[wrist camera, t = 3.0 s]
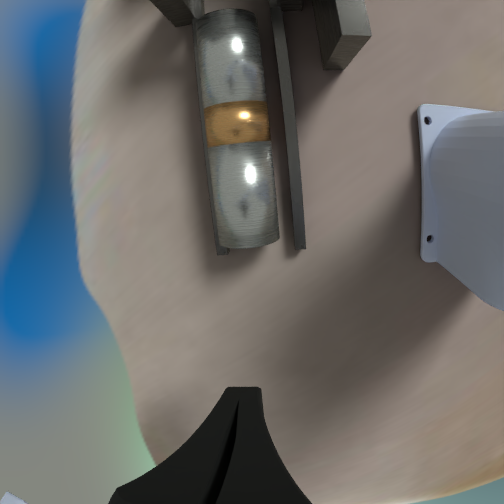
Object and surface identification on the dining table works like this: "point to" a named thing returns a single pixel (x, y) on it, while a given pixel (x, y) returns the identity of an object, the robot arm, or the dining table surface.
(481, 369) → the dining table surface
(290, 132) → the collar fixture
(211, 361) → the dining table surface
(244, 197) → the tube
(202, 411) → the dining table surface
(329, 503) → the dining table surface
